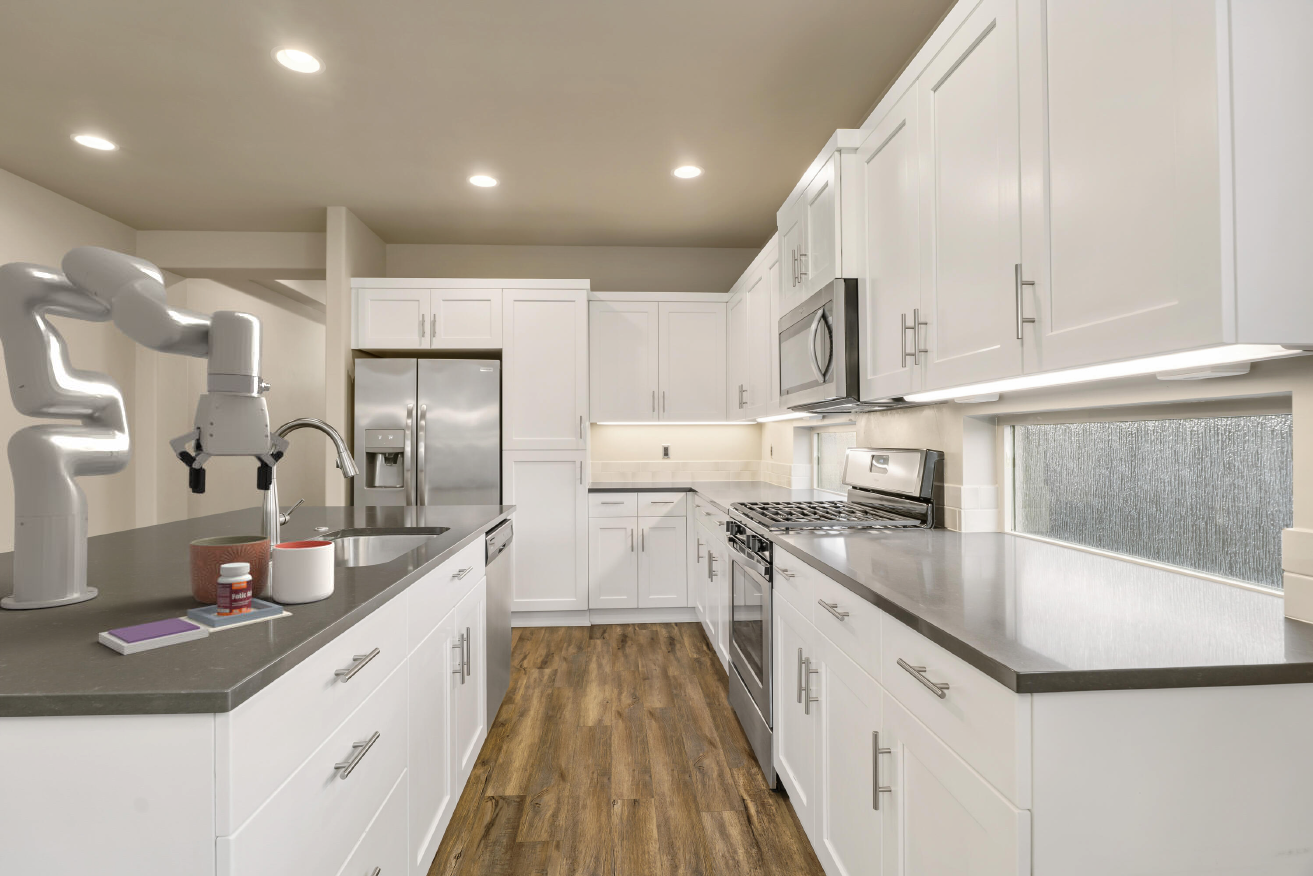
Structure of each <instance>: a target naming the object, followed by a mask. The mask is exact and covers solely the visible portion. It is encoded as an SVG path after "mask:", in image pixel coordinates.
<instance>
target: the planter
mask: <svg viewBox="0 0 1313 876" xmlns="http://www.w3.org/2000/svg"><path fill="white" fill-rule="evenodd" d="M271 542H272V541H271V537H270V536H267V535H261V534H239V535H238V534H237V535H235V534H233V535H222V536H213V537H212V536H211V537H204V538H199V539H196V540H195V539H194V540H193V541H190V542H189V543H188V544H189V545H188V546H189V548H188V550H189V577H190V588H191V592H192V595H193V597H194V599H195V600H196V601H198V602H199V603H202V604H206V605H217V581H218V579H219V578H220V577H221V576H222V575H221V574H220V566H221V565H224V564H230V563H249V565H250V570H249V572H248V574H249V575H251V577H252V597H251V598H256V599H257V598H258V597H260V596H261V595H262V594H263V593H264V592H265V590H266V588H267V585H268V579H269V574H270V573H269V572H270V561H271V560H270V558H271Z"/></svg>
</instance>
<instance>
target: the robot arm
mask: <svg viewBox="0 0 1313 876" xmlns="http://www.w3.org/2000/svg"><path fill="white" fill-rule="evenodd" d="M165 283H166V282H165V278H164V275H163V273H162V272H161V270H160V269H159V268H158V266H156V265H155V264H153V262H151V261H149V260H146V259H145V258H141V257H136V256H134V255H130V254H126V253H122V252H119V251H117V250H116V251H115V250H112V249H108V248H105V247H100V246H95V245H94V246H93V245H82V246H76V247H74V248H72V249H69V250H68V251H67V252H66V253H65V254H64V255H63V257H62V260H61V268H58V267H52V266H48V265H44V264H37V263H31V262H9V263H5V264H2V265H0V342H1V345H2V350H3V358H4V364H5V369H6V370H5V371H6V375H7V376H6V377H7V383H8V388H9V393H10V399H11V402H12V405H13V406H14V408H15V410H16V411H17V412H18V413H19V414H21V415H23V416H25V417H26V416H27V417H30V418H37V419H49V420H50V419H51V420H78V421H79V420H80V422H81V424H58V423H53V424H52V423H47V424H45V423H44V424H35V425H29V426H26V427H23V428H21V429H19V430H17V431H16V432H15V433H13V434H12V436H11V437H10V438H9V440H8V443H7V447H6V448H7V449H6V451H7V452H6V453H7V458H8V459H7V460H8V464H9V467H10V472H11V475H12V480H13V481H12V482H13V492H14V530H13V531H14V538H13V539H14V542H13V544H14V545H13V591H12V592H13V593H12V595H9V596H5V597H3V598H2V599H1V600H0V607H1V608H3V609H6V610H7V609H8V610H9V609H10V610H27V609H40V608H41V609H43V608H51V607H58V606H65V605H71V604H75V603H76V604H77V603H81V602H83V601H87V600H91V599H93V598H95V597H96V596H98V594H99V592H98V591H99V590H98V588H96V587H95V586H93V587H92V586H87V584H88V583H87V582H88V579H87V578H88V526H89V524H88V520H89V519H88V513H89V512H88V510H89V508H88V507H89V506H88V505H89V503H88V499H87V495H86V494H85V492H84V491H83V489H82V488H81V487H80V485H79V484H78V483H77V481H76V480H75V478H76V477H89V476H90V477H93V476H94V477H95V476H107V475H108V476H109V475H114V474H115V475H116V474H118V473H120V472H122V471H124V470H126V468H128V466H129V465H130V462H131V460H132V458H133V457H132V456H133V442H132V436H131V430H130V424H129V418H128V412H127V406H126V400H125V396H124V392H123V390H122V388H121V386H120V384H119V383H118V381H116V380H115V379H114V377H112V376H110V375H109V374H106V373H105V372H100V371H96V370H87V369H86V370H85V369H77V368H75V367H74V366H73V365H72V362H71V359H70V354H69V348H68V344H67V341H66V339H65V338H64V337H63V335H62V334H61V333H60V331H59V330H58V328H56V327H55V325H54V324H52V323H51V322H50V321H49V319H48V318H46V317H45V316H46V315H52V316H57V317H62V318H69V319H74V320H79V321H80V320H81V321H85V322H91V323H105V322H106V323H107V322H110V321H112V322H113V324H114V326H115V328H116V329H117V330H118V331H119V332H121V333H122V334H123V335H125V336H126V337H127V338H130V339H131V340H133V341H134V342H136V343H137V344H139V345H141V346H142V347H145V348H147V349H149V350H151V351H154V352H158V353H163V354H172V355H177V356H179V355H180V356H186V357H187V356H188V357H191V358H197V359H204V360H207V370H206V393H205V394H204V393H203V394H202V393H201V394H200V395H199V398H198V402H197V405H196V410H195V415H194V422H193V429H192V430H191V431H189V432H186V433H183V434H181V435H178V436H177V437H174V438H171V439H170V440H169V445H170V447H171V449H172V451H173V452H174V453H175V456H176V457H177V459H179V461H181V462H182V463H184V464H185V466H186V467H187V468H188V470H189V471H188V488H189V489H191V492H192V494H198V495H199V494H200V495H202V494H205V493H206V473H207V469H205V467H203V466H204V464H205V463H206V462H207V461H209V459H210V458H211V457H254V458H255V460H257V461H258V463H259V464H260V466H259V465H258V466H257V469H256V470H257V471H256V488H257V490H259V491H265V492H266V491H270V490H271V486H272V484H273V467H275V466H276V464H277V463H278V462H279V461H280V460H281V459H282V458H283V457H284V456H285V455H284V454H285V452H286V451H287V449H288V448H289V445H290V442H289V441H288V440H287V439H285V438H283V437H281V436H279V435H277V434H275V433H273V432H272V431H271V430H270V428H271V427H270V416H269V410H268V405H267V400H266V397H263V396H262V395H263V392H269V391H270V390H271V389H270V388H271V386H270V383H265V382H264V379H263V375H262V373H263V342H264V341H263V339H264V337H263V336H264V326H263V321H262V319H261V318H260V317H259V316H257V315H256V314H252V313H249V312H243V311H237V310H236V311H235V310H218V311H217V310H216V311H214V312H212V313H211V314H210V313H203V312H201V311H195V310H190V309H186V308H182V307H176V306H171V305H167V300H168V293H167V289H166V288H165V287H166V286H165ZM191 442H192V443H191ZM187 443H191V449H192V452H193V455H192V454H191V453H190V452H188V450H187V448H186V444H187ZM271 443H272V444H275V449H274V450H273V451H272V452H271V453H269V451H270V447H271Z"/></svg>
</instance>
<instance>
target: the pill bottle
mask: <svg viewBox="0 0 1313 876" xmlns="http://www.w3.org/2000/svg"><path fill="white" fill-rule="evenodd" d="M249 570H250V565H249V563H230V564H224V565H221V566H220V574H221V575H222V576H221V577H220V578H219V579H218V581H217V604H216V605H217V617H219V618H220V617H225V616H230V615H235V614H240V613H245V612H250V611H251V597H252V577H251V575H249V574H248V572H249Z"/></svg>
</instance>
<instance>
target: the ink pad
mask: <svg viewBox="0 0 1313 876" xmlns="http://www.w3.org/2000/svg"><path fill="white" fill-rule="evenodd" d="M209 635H210V632H209V628H206V627H203V626H201V625H198V624H196V623H193V622H190V621H188V620H185V619H183V618H180V617H173V618H168V619H163V620H158V621H154V622H147V623H141V624H137V625H132V626H131V625H130V626H127V627H121V628H116V629H111V630H107V631H104V632H99V633H98V642H99V643H100V644H102V645H104V646H107V647H108V648H109V649H111V650H114V651H115V652H118V653H120V654H122V655H123V656H126V655H130V654H135V653H140V652H144V651H149V650H153V649H158V648H163V647H168V646H172V645H177V644H182V643H186V642H190V641H191V642H192V641H196V640H199V639H204V638H208V637H209Z"/></svg>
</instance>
